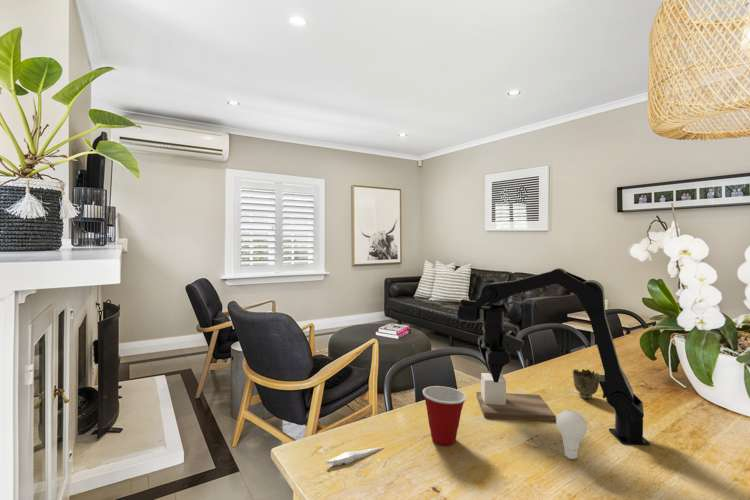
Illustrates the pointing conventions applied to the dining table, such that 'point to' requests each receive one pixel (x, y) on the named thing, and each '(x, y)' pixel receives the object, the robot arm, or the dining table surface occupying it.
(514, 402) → the board
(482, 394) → the off-white cube
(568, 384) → the dining table surface
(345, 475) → the dining table surface
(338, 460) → the white tapered spike
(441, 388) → the plastic cup
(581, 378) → the dark bronze hollow piece
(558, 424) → the lightbulb
